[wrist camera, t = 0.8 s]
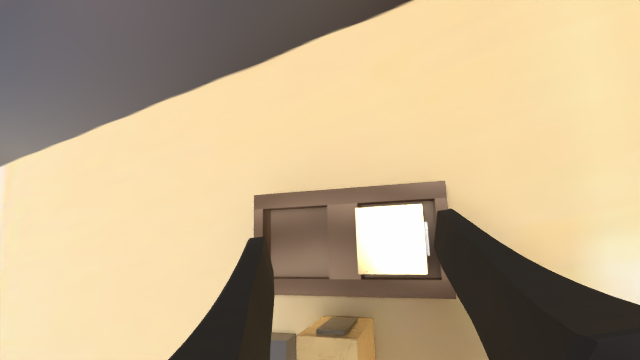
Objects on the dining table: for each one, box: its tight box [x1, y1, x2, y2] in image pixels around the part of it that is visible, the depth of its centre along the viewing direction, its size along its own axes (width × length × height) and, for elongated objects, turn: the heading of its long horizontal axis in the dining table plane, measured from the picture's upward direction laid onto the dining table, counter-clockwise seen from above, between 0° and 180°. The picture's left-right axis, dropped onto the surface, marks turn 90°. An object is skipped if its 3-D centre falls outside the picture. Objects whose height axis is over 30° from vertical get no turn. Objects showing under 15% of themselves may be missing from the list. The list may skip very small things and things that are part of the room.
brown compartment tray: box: [254, 181, 456, 299], centre depth 27 cm, size 8×15×2 cm, turn 92°
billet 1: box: [297, 316, 375, 360], centre depth 24 cm, size 4×4×6 cm
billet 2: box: [355, 204, 430, 274], centre depth 23 cm, size 4×4×6 cm
